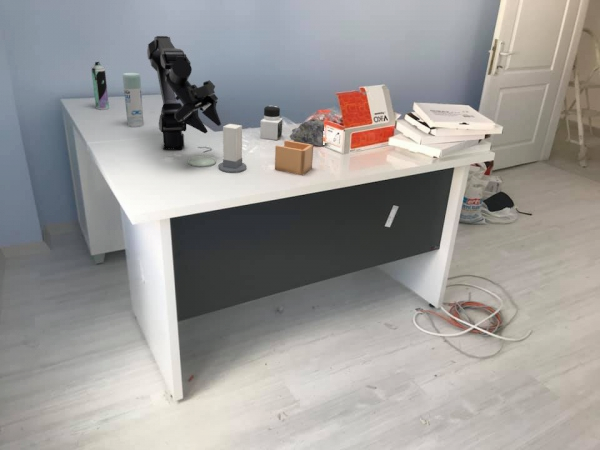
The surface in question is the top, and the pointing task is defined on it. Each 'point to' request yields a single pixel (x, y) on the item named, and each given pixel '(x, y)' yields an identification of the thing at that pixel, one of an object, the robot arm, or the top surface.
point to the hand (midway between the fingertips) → (213, 128)
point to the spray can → (100, 87)
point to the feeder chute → (294, 157)
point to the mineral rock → (309, 132)
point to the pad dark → (231, 170)
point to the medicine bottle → (271, 123)
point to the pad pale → (202, 161)
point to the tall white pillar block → (232, 146)
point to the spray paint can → (133, 99)
